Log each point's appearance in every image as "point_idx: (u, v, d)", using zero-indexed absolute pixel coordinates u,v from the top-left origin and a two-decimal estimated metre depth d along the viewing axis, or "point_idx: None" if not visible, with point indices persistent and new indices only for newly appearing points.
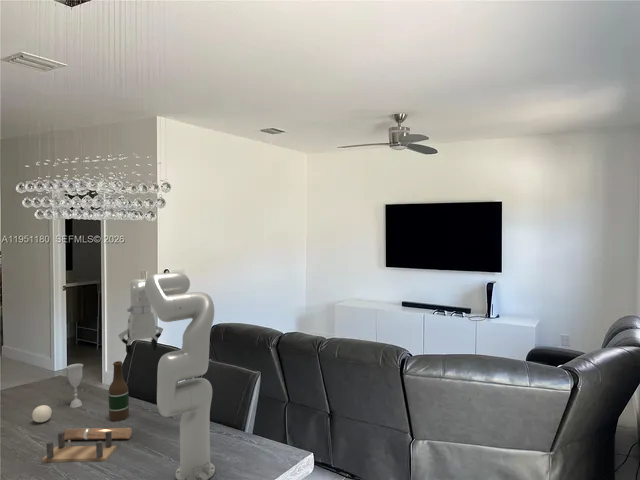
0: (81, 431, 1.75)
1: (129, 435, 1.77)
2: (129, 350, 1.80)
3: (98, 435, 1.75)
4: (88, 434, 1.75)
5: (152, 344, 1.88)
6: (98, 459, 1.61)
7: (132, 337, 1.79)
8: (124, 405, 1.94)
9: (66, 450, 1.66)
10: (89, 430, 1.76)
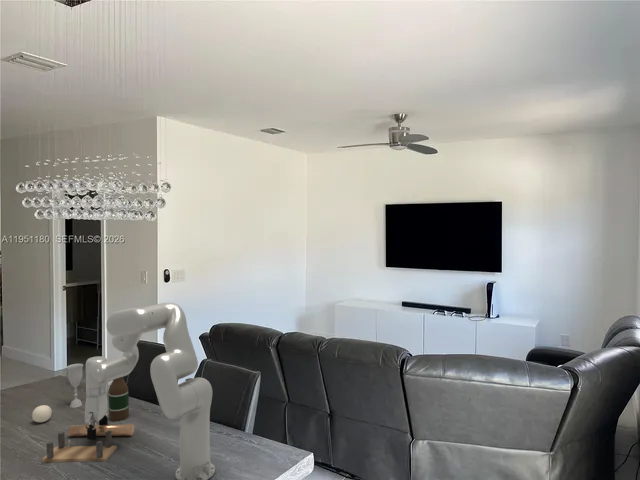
0: None
1: (131, 429, 1.79)
2: None
3: (104, 425, 1.80)
4: None
5: None
6: (98, 459, 1.61)
7: None
8: (124, 405, 1.94)
9: (66, 450, 1.66)
10: None
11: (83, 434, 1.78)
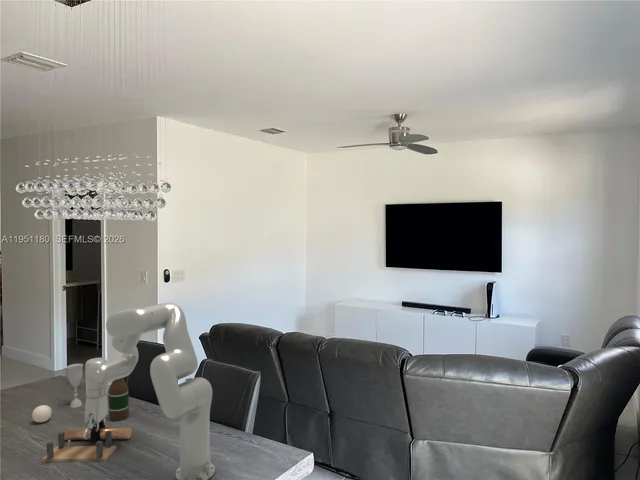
0: (81, 431, 1.75)
1: (129, 435, 1.77)
2: None
3: None
4: (88, 434, 1.75)
5: None
6: (98, 459, 1.61)
7: None
8: (124, 405, 1.94)
9: (66, 450, 1.66)
10: (89, 430, 1.76)
11: None
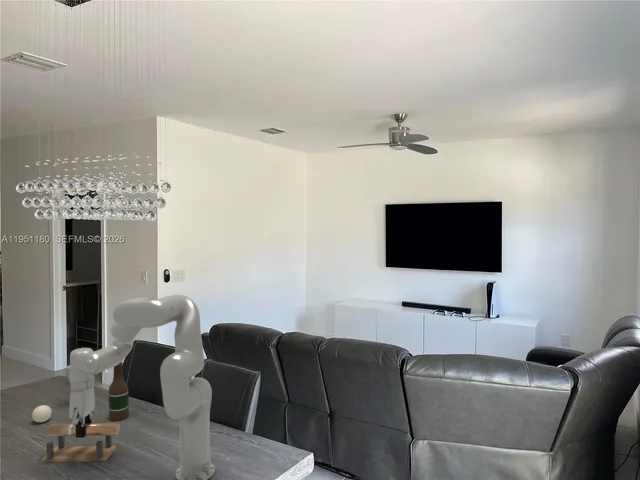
0: (65, 427, 1.63)
1: (117, 431, 1.64)
2: None
3: None
4: (73, 430, 1.62)
5: None
6: (98, 459, 1.61)
7: None
8: (124, 405, 1.94)
9: (66, 450, 1.66)
10: (74, 426, 1.63)
11: None
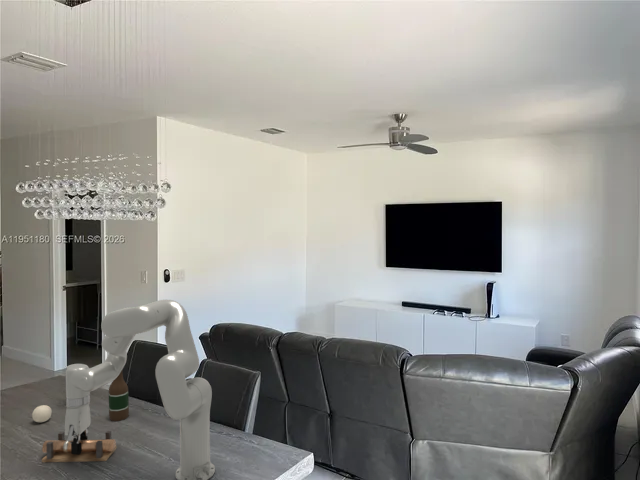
0: (61, 443, 1.63)
1: (112, 447, 1.64)
2: None
3: None
4: (69, 447, 1.63)
5: None
6: (98, 459, 1.61)
7: None
8: (124, 405, 1.94)
9: None
10: None
11: None
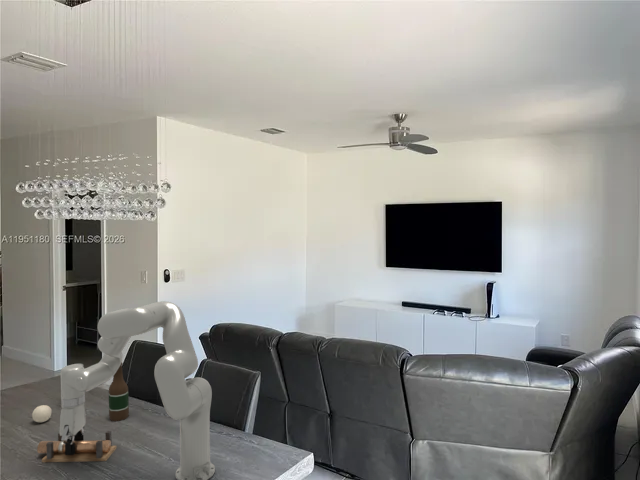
0: (56, 444, 1.63)
1: (108, 448, 1.64)
2: None
3: None
4: (64, 448, 1.63)
5: None
6: (98, 459, 1.61)
7: None
8: (124, 405, 1.94)
9: None
10: None
11: None
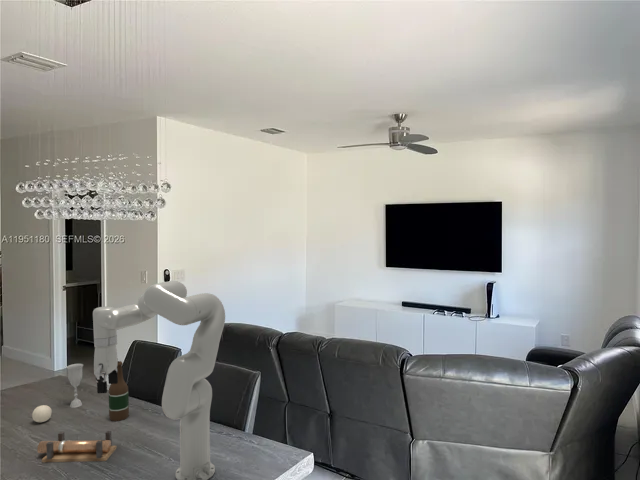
0: (56, 444, 1.63)
1: (108, 448, 1.65)
2: None
3: (75, 448, 1.63)
4: (64, 447, 1.63)
5: None
6: (98, 459, 1.61)
7: None
8: (124, 405, 1.94)
9: None
10: (65, 443, 1.64)
11: None
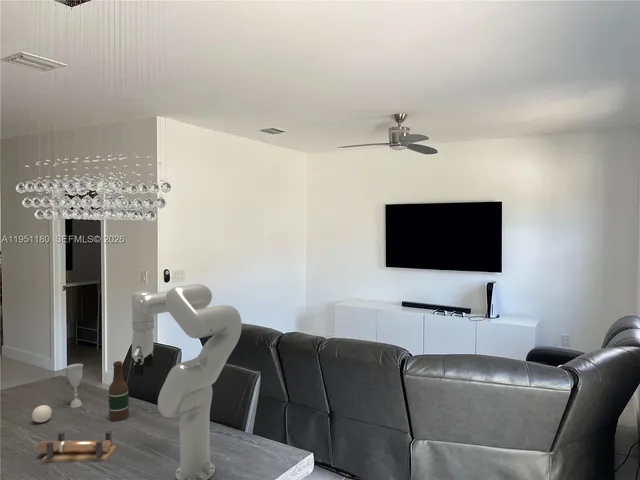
0: (56, 444, 1.63)
1: (108, 448, 1.64)
2: None
3: (74, 448, 1.63)
4: (64, 448, 1.63)
5: None
6: (98, 459, 1.61)
7: None
8: (124, 405, 1.94)
9: None
10: (65, 443, 1.63)
11: None
